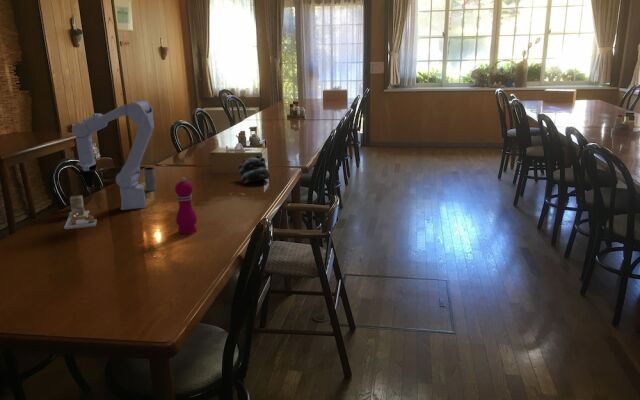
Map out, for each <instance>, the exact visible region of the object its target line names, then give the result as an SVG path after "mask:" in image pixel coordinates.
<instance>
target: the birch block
mask: <svg viewBox="0 0 640 400" xmlns="http://www.w3.org/2000/svg"><path fill="white" fill-rule="evenodd" d="M69 202H70V208H71V212H72V216H73V213H74V212H77V213H78V215H84V213H85V211H86V210H85V204H84V198H83V194H82V195H79V194H77V195H71V196H70V197H69Z"/></svg>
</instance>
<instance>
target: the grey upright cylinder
mask: <svg viewBox="0 0 640 400" xmlns="http://www.w3.org/2000/svg"><path fill="white" fill-rule="evenodd" d="M143 173H144V183H145V190H146V192H155V191H157V182H156V173H155V167H152V166H151V167H149V166H148V167H144V168H143Z"/></svg>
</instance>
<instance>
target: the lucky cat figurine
mask: <svg viewBox="0 0 640 400" xmlns="http://www.w3.org/2000/svg"><path fill="white" fill-rule="evenodd" d="M237 167H238V168H237V169H238V170H239V174H240V175H239V176H240V183H241V182H242V183H243V185H245V184H244V183H246V184H248V183H249V184H250V183H253V182H259V181H265V180H264V179H266V180H269V179H270V172H269V170H268V169H267V164H266V159H265V158H264V157H260V156H259V155H256V156H255V157H248V158H247V159H243V161H242V163H241V164H239V165H237ZM242 183H241V184H242Z"/></svg>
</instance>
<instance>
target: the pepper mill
mask: <svg viewBox="0 0 640 400" xmlns="http://www.w3.org/2000/svg"><path fill="white" fill-rule="evenodd" d="M186 179H187V178H186V177H185V176H184V177H183V176H182V177H180V181H178V182H177V183H176V184H175V187H174V192H175V194H177V196H176V197H177V201H178V205H179V206H178V211H177V214H176V219H175V222H176V224H177V226H178V233H179V234H180V233H182V234H181V235H189V234H188V233H192V234H194V233H193V232H195V231H196V230H198V229H197V225H196V224H197V222H198V217H197V214H196V212H195V210H194V208H193V205H192V199H193V197H192V196H193V195H192V193H193V190H194V188H193V185H192V184H191V182H190V181H186ZM196 232H197V231H196ZM196 232H195V233H196Z"/></svg>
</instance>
